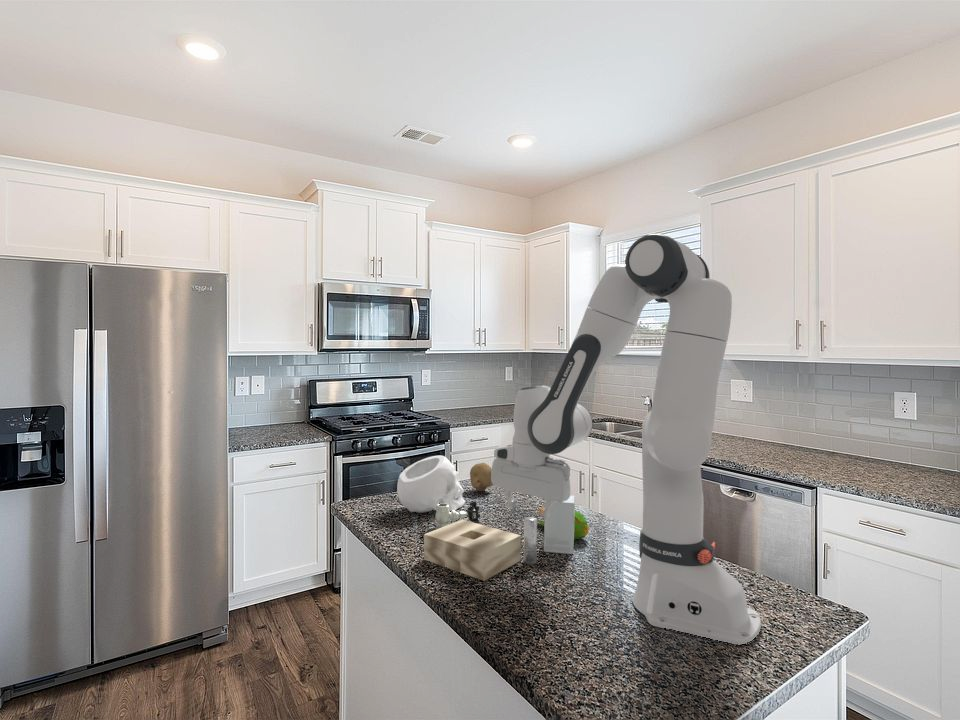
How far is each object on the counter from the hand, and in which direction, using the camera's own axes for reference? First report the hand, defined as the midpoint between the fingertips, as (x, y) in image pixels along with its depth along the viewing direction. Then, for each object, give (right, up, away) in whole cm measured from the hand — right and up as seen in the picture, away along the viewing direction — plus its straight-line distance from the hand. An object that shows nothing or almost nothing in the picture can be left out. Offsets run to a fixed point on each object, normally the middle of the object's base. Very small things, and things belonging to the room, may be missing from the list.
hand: (528, 512), depth 123 cm
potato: (-10, -10, +60) cm, 62 cm away
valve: (-18, -11, +24) cm, 32 cm away
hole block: (-13, -11, 0) cm, 17 cm away
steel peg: (0, -12, 0) cm, 12 cm away
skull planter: (-26, -11, +39) cm, 48 cm away
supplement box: (+9, -12, +9) cm, 17 cm away
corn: (+11, -12, +20) cm, 25 cm away
